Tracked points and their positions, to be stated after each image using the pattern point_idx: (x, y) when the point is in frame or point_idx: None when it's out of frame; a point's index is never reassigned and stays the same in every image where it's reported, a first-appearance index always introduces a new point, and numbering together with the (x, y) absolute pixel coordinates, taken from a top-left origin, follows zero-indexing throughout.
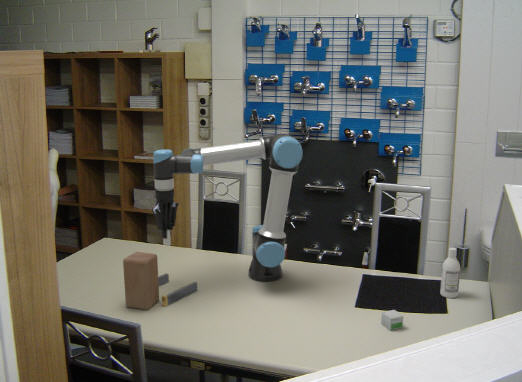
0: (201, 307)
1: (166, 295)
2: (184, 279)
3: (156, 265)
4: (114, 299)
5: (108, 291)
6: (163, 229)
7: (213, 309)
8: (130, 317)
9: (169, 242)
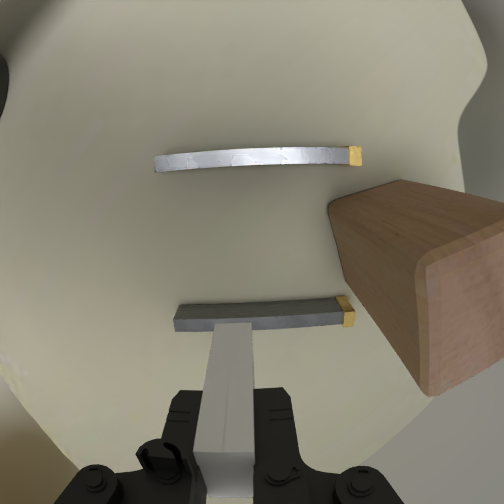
0: (270, 39)
1: (338, 161)
2: (128, 274)
3: (408, 230)
4: None
5: (355, 381)
6: (357, 477)
7: (256, 2)
8: None
9: (230, 341)
